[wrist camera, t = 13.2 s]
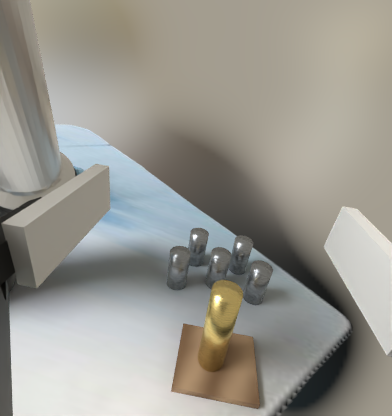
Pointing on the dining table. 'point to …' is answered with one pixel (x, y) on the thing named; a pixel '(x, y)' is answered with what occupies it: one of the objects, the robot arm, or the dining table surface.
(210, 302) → the cylinder
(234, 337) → the board
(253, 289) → the spacers
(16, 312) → the dining table surface
